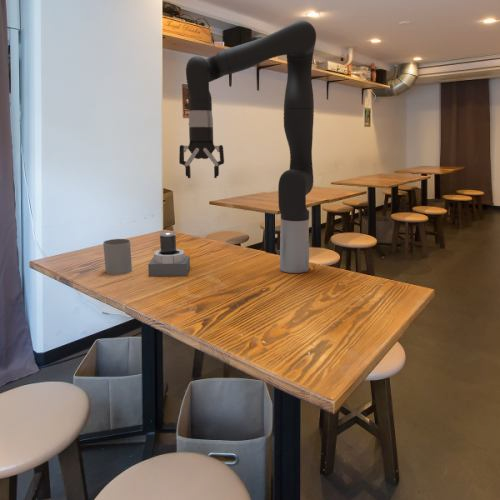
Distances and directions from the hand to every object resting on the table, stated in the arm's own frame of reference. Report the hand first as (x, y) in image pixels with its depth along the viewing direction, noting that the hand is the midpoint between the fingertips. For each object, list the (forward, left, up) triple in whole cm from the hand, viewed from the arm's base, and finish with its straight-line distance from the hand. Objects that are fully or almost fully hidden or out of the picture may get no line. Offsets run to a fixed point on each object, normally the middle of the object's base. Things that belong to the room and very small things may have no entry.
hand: (202, 178), depth 140 cm
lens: (+11, +5, -26) cm, 29 cm away
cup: (+28, +4, -30) cm, 41 cm away
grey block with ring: (+11, +5, -30) cm, 32 cm away
